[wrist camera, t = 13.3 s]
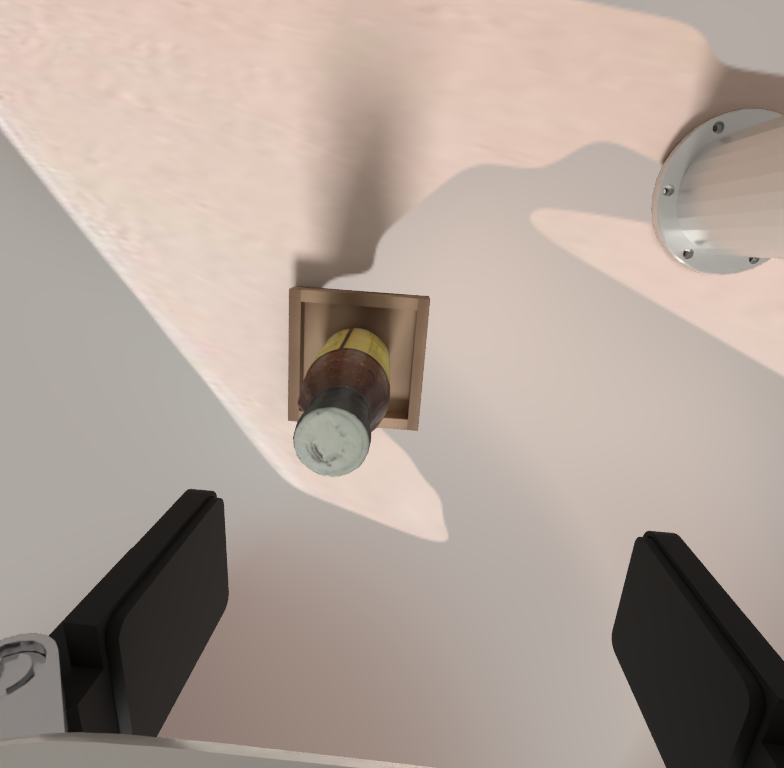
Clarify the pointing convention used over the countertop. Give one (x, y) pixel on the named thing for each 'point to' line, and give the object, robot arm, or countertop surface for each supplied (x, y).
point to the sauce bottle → (342, 402)
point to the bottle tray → (371, 312)
